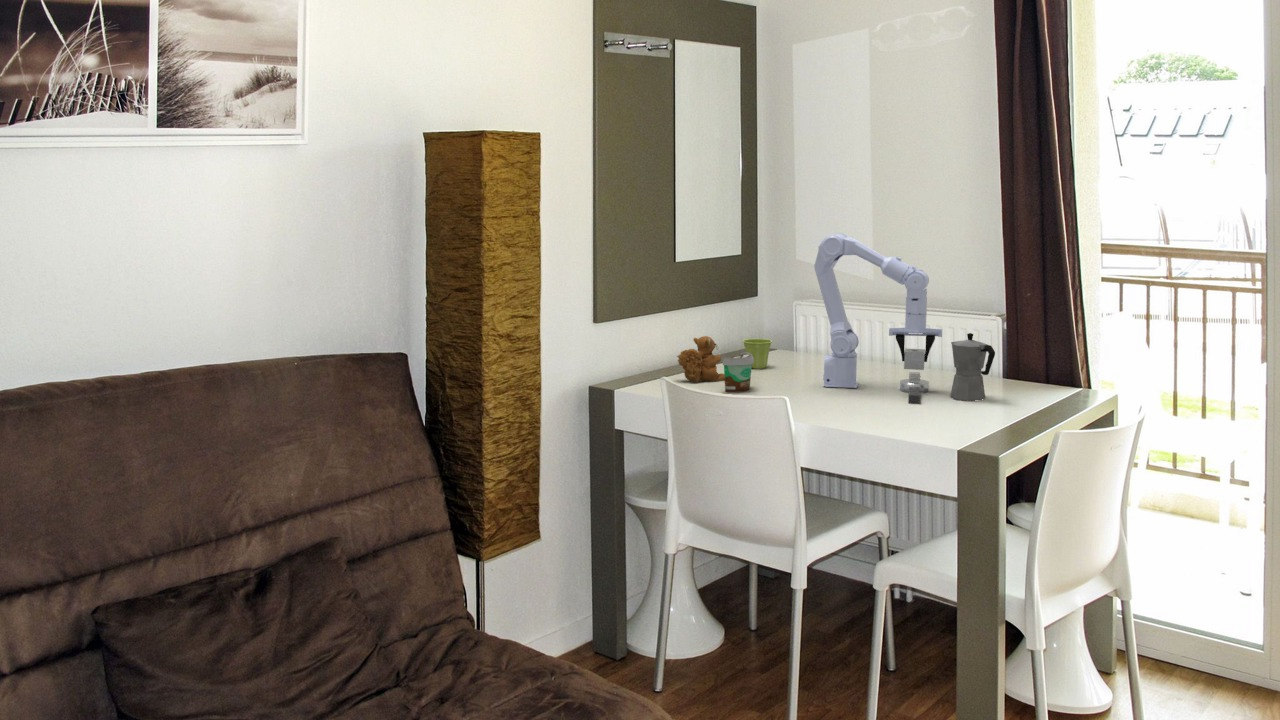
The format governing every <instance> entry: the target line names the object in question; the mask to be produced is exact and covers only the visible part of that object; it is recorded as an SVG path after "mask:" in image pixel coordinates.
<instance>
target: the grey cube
mask: <svg viewBox="0 0 1280 720" xmlns="http://www.w3.org/2000/svg"><path fill="white" fill-rule="evenodd" d="M925 349H926V348H924V349H923V348H906V347H904V351H905V358H904V361H903V362H904V365H903V370H914V371H915V370H919V371H924V370H925V362H924V359H925Z"/></svg>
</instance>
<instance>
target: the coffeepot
mask: <svg viewBox="0 0 1280 720" xmlns="http://www.w3.org/2000/svg"><path fill="white" fill-rule="evenodd" d="M966 336H967V339H964V340H957V341H951V349H952V356H953V365H954V368H955V374H954V377H953V380H952V381H953V382H952V385H951V391H950V394H949V397H950V398H951V399H952V398H953V399H952V400H955V399H956V401H960V400H963V401H962V402H976V401H975V400H981V401H983V400H982V399H986V393H985V386H984V378H983V376H987V375H989V373H990V371H991V367H992V364H993V362H994V359H995V355H996V352H995V350H994V348H993V346H992V345H990V344H986V343H985V342H981V341H978V340H973V338H974V333H972V332H970V333H966ZM987 353H988V356H986V355H987ZM986 357H987V359H986ZM986 360H987V361H986ZM985 362H986V364H985ZM984 365H985V366H984ZM984 367H985V370H982V369H984Z"/></svg>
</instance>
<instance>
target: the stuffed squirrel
mask: <svg viewBox="0 0 1280 720" xmlns="http://www.w3.org/2000/svg"><path fill="white" fill-rule="evenodd" d="M692 341H693V342H694V344H695V345H696V346H697V347H696V348H697V350H696V349H695V348H689V349H685V350H681V352H680V353H679V354H678V355H676V358H678V359H677V362H678V365H680V366H681V367H682V369H683V370H684V372H683V374H684V377H685V379H686V380H688V381H689V382H692V383H697V384H698V383H700V382H720V381H725V377H724V373H719V372H717V371H718V370H717V365H716V364H719V363H720V362H721V361H722V357H721V355H720V354H716V355H714V354H713V351H714V349H716V351H718V350H719V348H720V347H719V346H718V345H717V343H716V342H715V341H714V340H713V339H712V338H711V337H710V336H708V335H704V336H700V337H693V340H692Z"/></svg>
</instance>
